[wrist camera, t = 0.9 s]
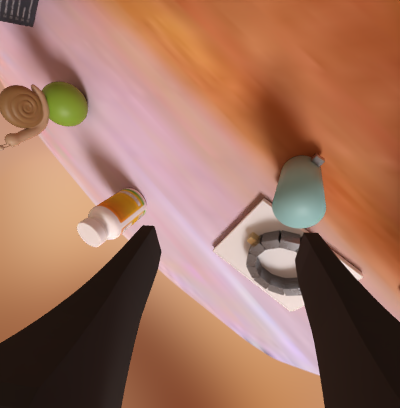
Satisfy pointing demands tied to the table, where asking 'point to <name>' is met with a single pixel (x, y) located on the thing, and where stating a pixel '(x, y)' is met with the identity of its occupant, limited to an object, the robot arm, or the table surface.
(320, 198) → the teal peg
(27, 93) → the snail figurine
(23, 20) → the box
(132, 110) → the table surface
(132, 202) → the supplement bottle
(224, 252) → the collar plate
